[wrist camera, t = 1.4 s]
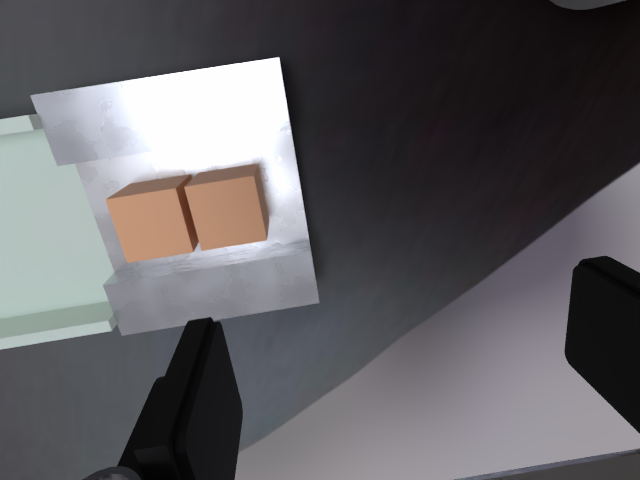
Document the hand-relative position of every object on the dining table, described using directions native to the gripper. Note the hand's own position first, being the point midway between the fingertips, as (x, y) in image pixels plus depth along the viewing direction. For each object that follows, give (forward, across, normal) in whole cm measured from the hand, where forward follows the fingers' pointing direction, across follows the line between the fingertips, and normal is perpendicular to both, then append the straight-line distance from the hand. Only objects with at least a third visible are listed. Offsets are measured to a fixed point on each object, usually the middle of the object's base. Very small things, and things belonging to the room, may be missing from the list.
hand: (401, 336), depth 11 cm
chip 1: (+18, +11, 0) cm, 21 cm away
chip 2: (+18, +6, 0) cm, 20 cm away
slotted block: (+20, +9, 0) cm, 22 cm away
